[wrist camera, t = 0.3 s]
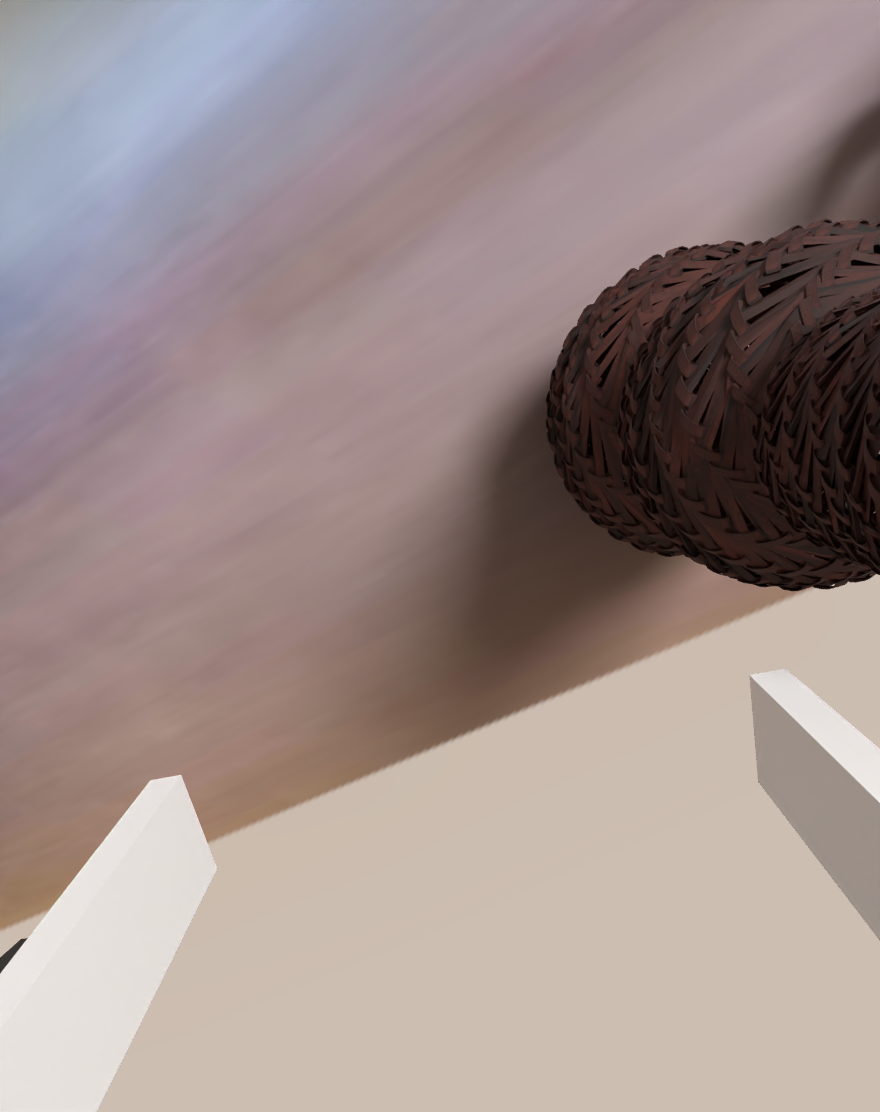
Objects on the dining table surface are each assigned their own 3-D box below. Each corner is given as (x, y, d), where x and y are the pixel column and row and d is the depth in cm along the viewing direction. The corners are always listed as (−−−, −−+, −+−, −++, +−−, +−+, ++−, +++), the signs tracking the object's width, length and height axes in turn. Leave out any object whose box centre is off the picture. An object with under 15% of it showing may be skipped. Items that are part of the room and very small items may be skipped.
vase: (822, 420, 37) (2049, 524, 9) (623, 568, 40) (1036, 1012, 12) (686, 214, 35) (1852, -678, 6) (481, 389, 38) (564, 391, 9)
